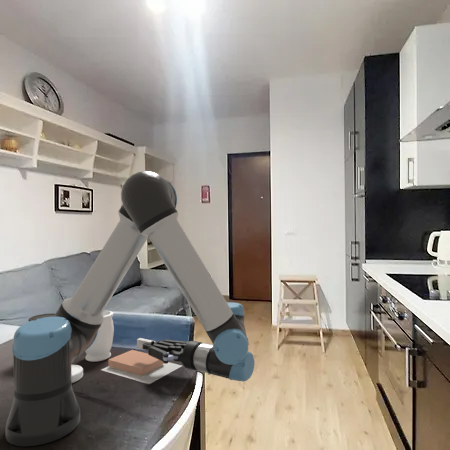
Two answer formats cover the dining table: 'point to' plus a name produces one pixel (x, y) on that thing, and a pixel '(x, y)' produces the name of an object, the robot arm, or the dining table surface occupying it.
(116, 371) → the mat
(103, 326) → the jar
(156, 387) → the dining table surface
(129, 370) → the tile
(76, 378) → the white bowl
